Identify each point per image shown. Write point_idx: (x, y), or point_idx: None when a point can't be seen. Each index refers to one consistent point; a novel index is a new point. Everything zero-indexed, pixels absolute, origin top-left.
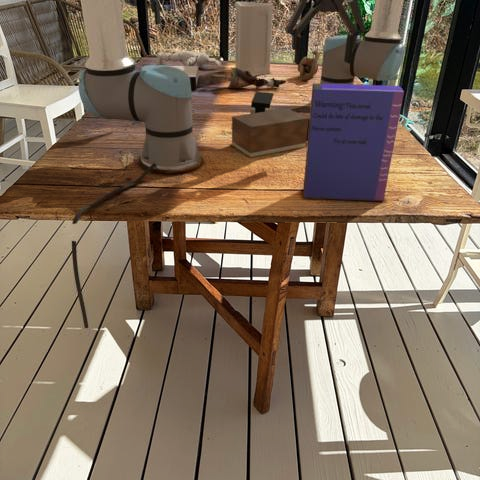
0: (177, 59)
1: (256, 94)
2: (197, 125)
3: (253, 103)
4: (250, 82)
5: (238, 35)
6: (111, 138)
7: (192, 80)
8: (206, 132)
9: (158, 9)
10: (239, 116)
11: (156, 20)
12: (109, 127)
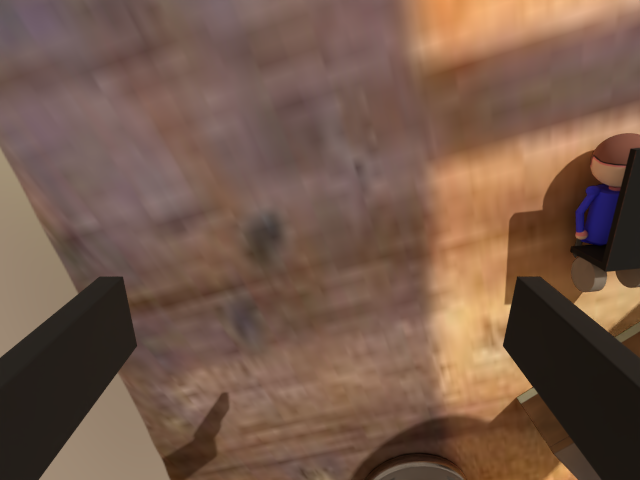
0: None
1: (633, 186)
2: (410, 299)
3: (609, 269)
4: None
5: None
6: (245, 421)
7: None
8: (445, 341)
9: (42, 400)
10: (573, 450)
11: (111, 367)
12: (198, 365)
